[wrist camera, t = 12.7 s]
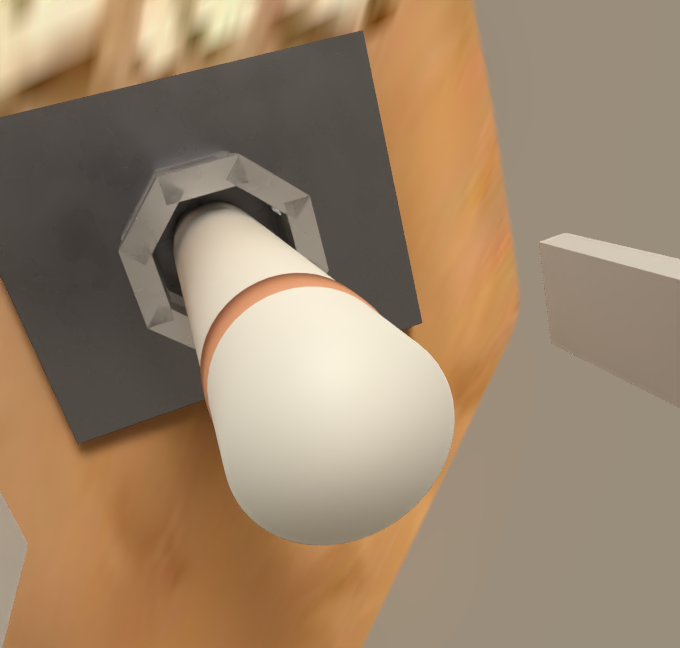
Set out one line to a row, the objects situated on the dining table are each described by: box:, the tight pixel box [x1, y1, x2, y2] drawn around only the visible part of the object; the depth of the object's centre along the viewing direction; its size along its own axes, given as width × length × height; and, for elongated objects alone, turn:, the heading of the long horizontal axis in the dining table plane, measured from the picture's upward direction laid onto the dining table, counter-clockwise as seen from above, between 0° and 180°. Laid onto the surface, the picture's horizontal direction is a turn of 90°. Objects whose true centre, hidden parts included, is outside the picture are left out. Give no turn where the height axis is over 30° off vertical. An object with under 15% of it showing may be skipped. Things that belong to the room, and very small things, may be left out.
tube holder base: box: [0, 30, 422, 444], centre depth 30 cm, size 20×16×6 cm
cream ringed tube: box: [172, 200, 454, 545], centre depth 21 cm, size 4×4×22 cm
